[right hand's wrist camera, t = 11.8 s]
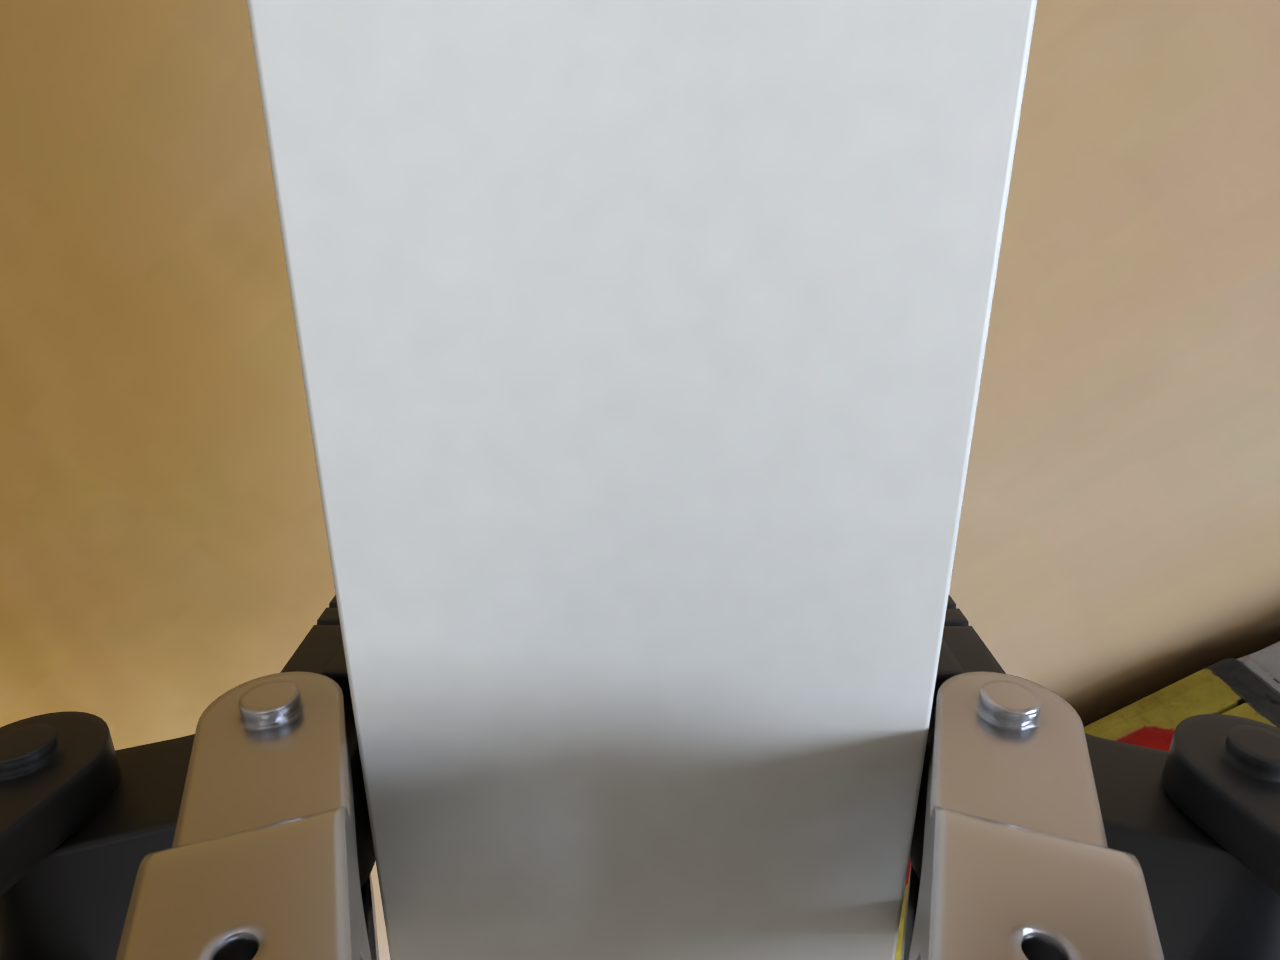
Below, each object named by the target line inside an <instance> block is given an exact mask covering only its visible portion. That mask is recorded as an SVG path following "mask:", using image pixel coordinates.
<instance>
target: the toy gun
mask: <svg viewBox="0 0 1280 960" xmlns="http://www.w3.org/2000/svg"><path fill="white" fill-rule="evenodd" d="M1202 714H1224V715H1233V716H1238V717H1243V718H1248V719H1252V720H1255V721H1259V722H1263V723H1266V724H1268V725H1271V726H1274V727H1277V728H1279V729H1280V641H1279V642H1277V643H1274V644H1272V645H1270V646H1268V647H1266V648H1264V649H1262V650H1260V651H1258V652H1255V653H1252V654H1249V655H1247V656H1244V657H1241V658H1238V659H1235V658H1230V659H1223V660H1221V661H1219V662H1216V663H1214V664H1212V665H1210V666H1208V667H1206V668H1204V669H1202V670H1200V671H1198V672H1196V673H1194V674H1192V675H1190V676H1188V677H1186V678H1183V679H1181V680H1179V681H1177V682H1175V683H1173V684H1171V685H1169V686H1167V687H1165V688H1163V689H1161V690H1159V691H1157V692H1155V693H1153V694H1151V695H1149V696H1147V697H1145V698H1142V699H1140V700H1138V701H1136V702H1134V703H1132V704H1130V705H1128V706H1126V707H1124V708H1122V709H1120V710H1118V711H1116V712H1114V713H1112V714H1110V715H1108V716H1106V717H1104V718H1101V719H1099V720H1097V721H1095V722H1093V723H1091V724H1089V725H1087V726H1085V727H1084V732H1085V733H1086V734H1089V735H1093V736H1096V737H1100V738H1104V739H1109V740H1113V741H1118V742H1123V743H1128V744H1133V745H1138V746H1143V747H1148V748H1153V749H1158V750H1163V751H1168V752H1169V749H1170V745H1171V742H1172V738H1173V735H1174V731H1175V729H1176V727H1177V725H1178V724H1179V723H1180V722H1181V721H1182V720H1184V719H1186V718H1188V717H1192V716H1196V715H1202ZM910 867H911V861H910V858H909V864H908V871H907V878H906V884H905V891H904V898H903V905H902V911H901V918H900V925H899V932H898V938H897V945H896V952H895V958H894V960H901V951H902V940H903V928H904V916H905V905H906V893H907V887H908V880H909V874H910Z"/></svg>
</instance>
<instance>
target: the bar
mask: <svg viewBox="0 0 1280 960" xmlns="http://www.w3.org/2000/svg"><path fill="white" fill-rule="evenodd" d="M246 1H247V7H248V14H249V21H250V27H251V34H252V41H253V47H254V54H255V61H256V67H257V74H258V81H259V87H260V94H261V100H262V107H263V114H264V120H265V127H266V134H267V140H268V147H269V154H270V160H271V167H272V174H273V180H274V187H275V194H276V200H277V207H278V214H279V220H280V227H281V234H282V240H283V247H284V253H285V260H286V267H287V273H288V280H289V287H290V293H291V300H292V307H293V313H294V320H295V327H296V333H297V340H298V347H299V353H300V360H301V367H302V373H303V380H304V387H305V393H306V400H307V406H308V413H309V420H310V426H311V433H312V440H313V446H314V453H315V460H316V466H317V473H318V480H319V486H320V493H321V500H322V506H323V513H324V520H325V526H326V533H327V540H328V546H329V553H330V559H331V566H332V573H333V579H334V586H335V593H336V599H337V606H338V613H339V619H340V626H341V633H342V639H343V646H344V653H345V659H346V666H347V673H348V679H349V686H350V693H351V699H352V706H353V712H354V719H355V726H356V732H357V739H358V746H359V752H360V759H361V766H362V772H363V779H364V786H365V792H366V799H367V806H368V812H369V819H370V826H371V832H372V839H373V846H374V852H375V859H376V865H377V872H378V879H379V885H380V892H381V899H382V905H383V912H384V919H385V925H386V932H387V939H388V945H389V952H390V959H391V960H894V958H895V952H896V945H897V938H898V932H899V925H900V918H901V911H902V905H903V898H904V891H905V884H906V878H907V871H908V864H909V858H910V851H911V844H912V837H913V831H914V824H915V817H916V811H917V804H918V797H919V790H920V784H921V777H922V770H923V763H924V757H925V750H926V743H927V737H928V730H929V723H930V716H931V710H932V703H933V696H934V690H935V683H936V676H937V669H938V663H939V656H940V649H941V643H942V636H943V629H944V622H945V616H946V609H947V602H948V595H949V589H950V582H951V575H952V569H953V562H954V555H955V548H956V542H957V535H958V528H959V522H960V515H961V508H962V501H963V495H964V488H965V481H966V474H967V468H968V461H969V454H970V448H971V441H972V434H973V427H974V421H975V414H976V407H977V401H978V394H979V387H980V380H981V374H982V367H983V360H984V354H985V347H986V340H987V333H988V327H989V320H990V313H991V306H992V300H993V293H994V286H995V280H996V273H997V266H998V259H999V253H1000V246H1001V239H1002V233H1003V226H1004V219H1005V212H1006V206H1007V199H1008V192H1009V185H1010V179H1011V172H1012V165H1013V159H1014V152H1015V145H1016V138H1017V132H1018V125H1019V118H1020V112H1021V105H1022V98H1023V91H1024V85H1025V78H1026V71H1027V65H1028V58H1029V51H1030V44H1031V38H1032V31H1033V24H1034V17H1035V11H1036V4H1037V0H246Z"/></svg>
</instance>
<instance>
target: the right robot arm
mask: <svg viewBox="0 0 1280 960" xmlns="http://www.w3.org/2000/svg"><path fill="white" fill-rule="evenodd" d="M375 860H376V859H375V852H374V846H373V839H372V832H371V826H370V819H369V812H368V806H367V799H366V792H365V786H364V779H363V772H362V766H361V759H360V752H359V746H358V739H357V732H356V726H355V719H354V712H353V706H352V699H351V693H350V686H349V679H348V673H347V666H346V659H345V653H344V646H343V639H342V633H341V626H340V619H339V613H338V606H337V599H336V595H335V596H334V598H333V599H332V601H331V602H330V603H329V608H326V609H325V611H324V612H323V613H322V615H321V616H320V618H319V619H318V620H317V625H314V626H313V627H312V629H311V630H310V632H309V633H308V634H307V636H306V637H305V639H304V640H303V642H302V643H301V644H300V646H299V647H298V649H297V650H296V651H295V653H294V654H293V656H292V657H291V658H290V660H289V661H288V663H287V664H286V665H285V667H284V668H283V670H282V671H281V672H280V673H277V674H272V675H267V676H263V677H260V678H257V679H253V680H250V681H248V682H246V683H243V684H241V685H239V686H237V687H235V688H233V689H231V690H229V691H227V692H226V693H224V694H223V695H221V696H220V697H218V698H217V699H216V700H215V701H213V702H212V703H211V704H210V705H209V706H208V707H207V708H206V709H205V711H204V712H203V714H202V715H201V717H200V718H199V721H198V724H197V728H196V733H195V734H193V735H189V736H185V737H181V738H176V739H171V740H166V741H161V742H156V743H151V744H146V745H141V746H136V747H131V748H126V749H121V750H116V751H115V749H114V746H113V742H112V739H111V735H110V731H109V728H108V726H107V724H106V722H104V721H103V720H102V719H101V718H99V717H97V716H95V715H93V714H89V713H84V712H57V713H49V714H44V715H39V716H34V717H30V718H27V719H23V720H20V721H17V722H14V723H11V724H8V725H6V726H3V727H1V728H0V960H379V950H378V939H377V927H376V916H375V904H374V893H373V886H372V880H371V871H372V868H373V866H374V863H375ZM910 861H911V867H910V874H909V880H908V887H907V893H906V905H905V916H904V928H903V940H902V951H901V960H1280V729H1279V728H1277V727H1274V726H1271V725H1268V724H1266V723H1263V722H1259V721H1255V720H1252V719H1248V718H1243V717H1238V716H1233V715H1224V714H1202V715H1196V716H1192V717H1188V718H1186V719H1184V720H1182V721H1181V722H1180V723H1179V724H1178V725H1177V727H1176V729H1175V731H1174V735H1173V738H1172V742H1171V745H1170V749H1169V752H1168V751H1163V750H1158V749H1153V748H1148V747H1143V746H1138V745H1133V744H1128V743H1123V742H1118V741H1113V740H1109V739H1104V738H1100V737H1096V736H1093V735H1089V734H1086V733H1085V732H1084V727H1083V724H1082V721H1081V718H1080V717H1079V715H1078V713H1077V712H1076V710H1075V709H1074V708H1073V707H1072V706H1071V705H1070V704H1069V703H1068V702H1067V701H1065V700H1064V699H1063V698H1062V697H1060V696H1059V695H1057V694H1056V693H1054V692H1053V691H1051V690H1049V689H1047V688H1045V687H1043V686H1041V685H1039V684H1037V683H1034V682H1032V681H1030V680H1027V679H1023V678H1020V677H1017V676H1013V675H1008V674H1006V673H1005V672H1004V671H1003V669H1002V668H1001V666H1000V665H999V664H998V662H997V661H996V659H995V658H994V657H993V655H992V654H991V652H990V651H989V650H988V648H987V647H986V646H985V644H984V643H983V641H982V640H981V639H980V637H979V636H978V634H977V633H976V632H975V630H974V629H973V627H972V626H969V625H968V621H967V619H966V618H965V616H964V615H963V614H962V612H961V611H960V609H956V604H955V602H954V601H953V600H952V598H951V597H950V595H948V602H947V609H946V616H945V622H944V629H943V636H942V643H941V649H940V656H939V663H938V669H937V676H936V683H935V690H934V696H933V703H932V710H931V716H930V723H929V730H928V737H927V743H926V750H925V757H924V763H923V770H922V777H921V784H920V790H919V797H918V804H917V811H916V817H915V824H914V831H913V837H912V844H911V851H910Z"/></svg>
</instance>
